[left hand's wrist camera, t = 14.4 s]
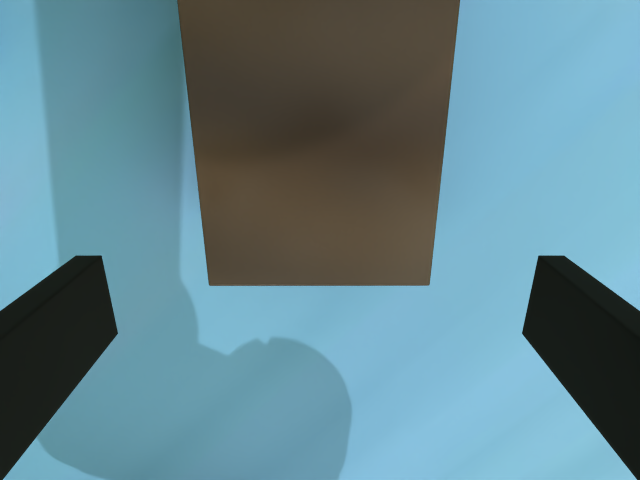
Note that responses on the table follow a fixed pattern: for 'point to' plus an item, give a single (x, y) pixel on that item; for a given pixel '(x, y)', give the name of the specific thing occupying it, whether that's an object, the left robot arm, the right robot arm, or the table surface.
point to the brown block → (318, 137)
